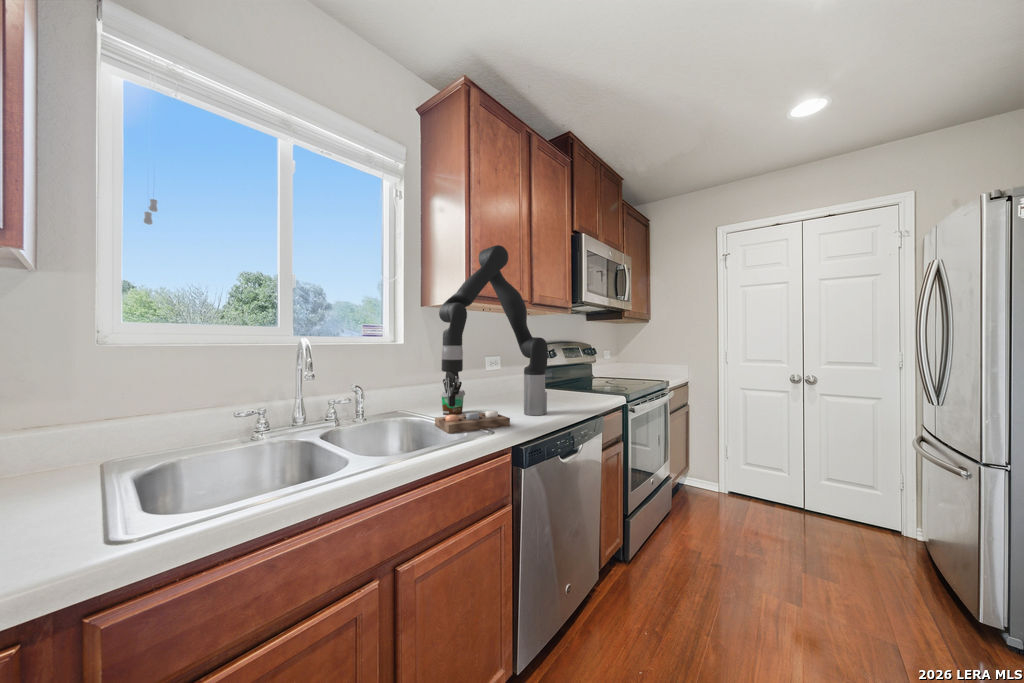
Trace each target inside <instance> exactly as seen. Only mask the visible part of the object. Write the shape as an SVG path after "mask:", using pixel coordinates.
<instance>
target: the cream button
mask: <svg viewBox="0 0 1024 683" xmlns="http://www.w3.org/2000/svg"><path fill="white" fill-rule="evenodd" d="M484 413H485V417H487V418H493V417H498V414H499V411H497V410H487V411H485V412H484Z"/></svg>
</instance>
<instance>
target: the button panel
mask: <svg viewBox="0 0 1024 683" xmlns="http://www.w3.org/2000/svg"><path fill="white" fill-rule="evenodd" d="M478 413H479V419H474V420H467V419H466V414H459V421H455V422H446V421H445V416H439V417H434V426H435V427H437V428H438V429H440V430H442V431H443V432H445V433H446V434H455V433H457V434H458V433H466V432H473V431H479V430H480V429H483V430H489V429H488V428H491V429H497V428H498V429H499V428H506V427H511V426H510V425H511V418H510V417H508V416H505V415H504V414H503V415H502V414H499V413H498V417H493V418H487V417H485V412H478ZM480 431H481V430H480Z"/></svg>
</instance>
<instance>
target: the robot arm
mask: <svg viewBox="0 0 1024 683" xmlns="http://www.w3.org/2000/svg"><path fill="white" fill-rule="evenodd" d="M478 262H479V266H480V268H478V269H477V270H476V271H475V272H474V273H473V274H471V275H470V276H469V277H468V278H466V280H464V282H463V283H462V284H461V286H460V287H459V288H458V290H457V291H456V292H455V293H454V294H453V295H451V296H450V297H449V298H448V299H446V300H445V302H443V303H442V305H441V306H440V308H439V312H438V316H439V318H440V320H441V321H442V322H443V323H448V324H449V326H448V328H447V329H445V330H444V331H443V332H442V349H441V372H443V373H445V377H444V378H443V380H442V384H443V388H444V392H446V393H447V395H448V406H450V407H454V406H455V396H456V395H458V393H459V391H460V389H462V388H461V387H462V381H460V376H459V373H460V372H462V371H463V370H464V369H463V366H464V363H463V362H464V357H463V356H464V350H463V335H464V334H463V333H464V330H465V327H466V322H467V319H468V311H467V308H466V307H469V306H471V305H472V304H473V302H474V301H475V300H476V298H478V296H479V294H480V293H481V292H482V291H483V289H484V288H485V287H486V286H487V285H488V284H489V283H490V284H491V286H492V288H493V290H494V292H495V294H496V296H497V299H498V300H499V303H500V306H501V307H502V311H503V312H504V314H505V316H506V317H507V320H508V322H509V324H510V327H511V329H512V330H513V333H514V336H515V338H516V342H517V344H518V347H519V350H520V352H521V354H522V355H523V357H525V358H527V359H530V360H529V364H528V365H527V366H525V367H524V368H523V414H524V415H526V416H542V415H545V414H548V392H547V391H546V370H547V366H548V356H549V346H548V343H547V341H546V339H545V338H543V337H538V336H537V337H533V336H532V334H531V332H530V329H529V328H528V323H527V320H528V311H527V310H528V309H527V306H526V304H525V302H524V299H523V296H522V295H521V293H520V292H519V291H518V290H517V289H516V288H515V287H514V286H513V285H512V284H510V282H509V281H507V280H506V278H505V277H504V275H503V273H502V271H501V270H502V269H503V268H505V267H506V266H507V264H508V262H509V253H508V251H507V249H506V247H504V246H502V245H500V244H499V245H492V246H490V247H487V248H485V249H482V250H481V251H480V252H478Z"/></svg>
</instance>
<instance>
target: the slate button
mask: <svg viewBox="0 0 1024 683" xmlns="http://www.w3.org/2000/svg"><path fill="white" fill-rule="evenodd" d="M479 413H480V412H467V413H465V415H466V419H467V420H474V419H479Z"/></svg>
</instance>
